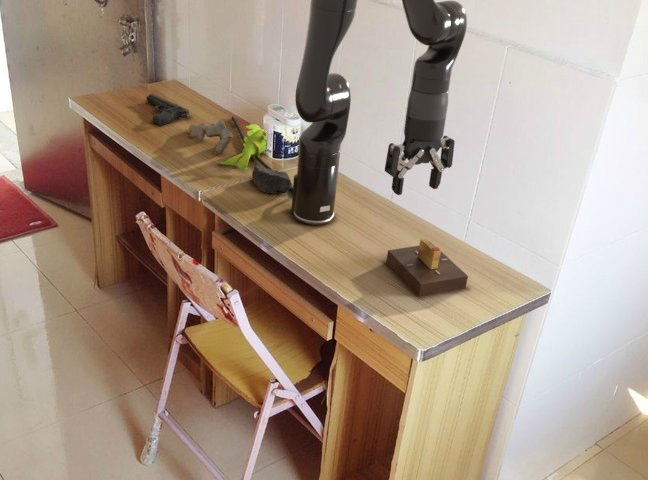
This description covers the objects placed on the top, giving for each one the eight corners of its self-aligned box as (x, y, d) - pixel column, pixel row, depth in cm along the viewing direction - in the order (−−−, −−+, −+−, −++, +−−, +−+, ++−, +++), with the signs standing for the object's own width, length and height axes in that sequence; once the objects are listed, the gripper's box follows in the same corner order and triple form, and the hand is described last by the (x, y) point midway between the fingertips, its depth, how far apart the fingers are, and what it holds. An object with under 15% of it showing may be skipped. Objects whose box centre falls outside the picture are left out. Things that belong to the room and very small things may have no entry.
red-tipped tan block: (417, 256, 163) (420, 238, 160) (423, 255, 163) (427, 237, 161) (430, 269, 158) (434, 250, 156) (437, 268, 159) (441, 249, 156)
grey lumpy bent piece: (182, 131, 222) (182, 107, 218) (198, 128, 225) (198, 104, 221) (219, 156, 209) (220, 131, 205) (235, 153, 211) (236, 128, 207)
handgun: (123, 109, 237) (155, 100, 243) (160, 127, 225) (193, 117, 232) (122, 100, 235) (154, 91, 242) (160, 118, 223) (193, 108, 230)
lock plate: (385, 262, 166) (387, 249, 164) (430, 255, 170) (432, 242, 168) (418, 296, 155) (421, 283, 154) (465, 288, 159) (468, 275, 157)
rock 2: (250, 180, 199) (246, 187, 190) (256, 158, 198) (253, 164, 188) (289, 192, 200) (287, 200, 190) (296, 170, 198) (294, 177, 188)
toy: (280, 145, 215) (284, 124, 209) (242, 187, 205) (245, 166, 198) (255, 132, 217) (258, 111, 211) (217, 173, 206) (219, 152, 200)
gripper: (446, 102, 153) (434, 178, 162) (384, 109, 148) (375, 188, 157) (469, 114, 147) (455, 193, 156) (405, 122, 142) (394, 203, 151)
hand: (415, 190), depth 156 cm, fingers open, 8 cm apart
